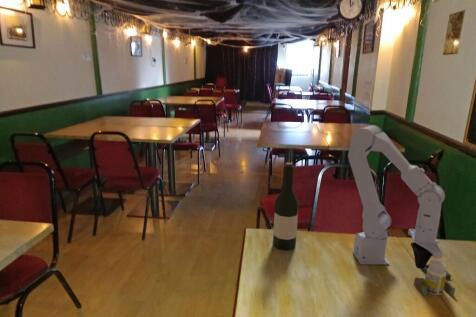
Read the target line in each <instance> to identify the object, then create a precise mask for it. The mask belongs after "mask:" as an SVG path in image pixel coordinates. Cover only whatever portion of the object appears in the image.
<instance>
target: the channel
mask: <svg viewBox="0 0 476 317" xmlns="http://www.w3.org/2000/svg"><path fill="white" fill-rule="evenodd" d="M413 285H414V287H415V288H416V289H417V290H418V291H419V293H420V294H421V295H422V296H424V297H425V296H427V293H428V292H427V289H428V288H427V287H426V286H425V283H424V282H423V281H422V280H421V279H420V278H419V277H414V282H413ZM444 291H446V293H448V294H449V295H450V296H452V297H453V296H455V292H456V287H455V286H454V285H453V284H452V283H450V281H448V279H445V285H444Z"/></svg>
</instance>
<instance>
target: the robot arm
mask: <svg viewBox="0 0 476 317" xmlns="http://www.w3.org/2000/svg"><path fill="white" fill-rule="evenodd" d="M349 139H350V144H349V148H348V153H347V158H348V162H349V164H350V168H351V171H352V174H353V177H354V180H355V181H354V182H355V184H356V186H357V190H358V194H359V197H360V200H361V204H362V206H363V210H362V216H361V218H362V230H363V231H362V232H358V233H356V234H355V236H354V243H353V250H352V253H353V255H354V257H355V258H356V260H357V261H358V263H359V264H360V265H390V262H389V261H388V259H387V258H386V257H385V256H386V250H387V243H388V236H389V233H388V231H387V229H388V228H390V226H391V225H392V218H391V216H390V215H389V214H388V211H386V207H385V206H384V205H383V204H381V203H382V202H380V199H379V195H378V192H377V191H378V190H377V189H376V185H375V182H374V178H373V175H372V171H371V169H370V165H369V162H368V158H367V156H368V155H369V153H370V152H371V151H373V152H378V153H382V154H383V155H384V156H385V157H386V158H387V160H389V161H390V162H391V164H393V165H394V166H395V167H396V168H397V169H398V170H399V171H400V179H401V180H402V181H403V182H404V183H405V184H406V185H407V187H408V188H409V189H410V190H411V191H412V192H413V193H414V195H416V196H417V202H418V204H419V208H418V210H417V216H416V223H415V228H409V229H408V232H407V235H409V236H411V238H412V239H411V240H412V241H413V242H411V243H410V246H411V249H412V252H413V256H414V264H415V265H414V266H415V267H416V269H421V268H425V266H426V264H428V262H429V260H431V258H433V259H442V257H443V251H442V250H441V249H440V247H439V245H438V244H439V243H440V241H439V239H437V236H438V230H439V226H440V221H441V220H440V219H441V215H442V214H441V211H442V203H443V202H444V201H445V198H446V194H445V191H444V189H443V187H442V186H440V185H438V184H437V183H436V182H435V181H432V180H431V179H430V178H429V177H428V176H427V175H426V173H425V172H426V171H425V169H424V168H423V167H421V168H420V167H419V166H418V165H414V164H413V165H412V164H411V163H410V162H409V161H408V160H407V159H406V157H405V156H404V155H403V154H402V152H401V151H400V150H399V149H398V148H397V146H396V145H395V144H394V142H392V140H391V139H390V137H389V136H388V134H387V133H386V132H384V131H383V130H382V129H381V128H380V127H379V126H377V125H374V124H371V125H368V126H365V127H361V128H357V129H356V130H355V131H354V132H353V134H352V135H351V137H350V138H349Z"/></svg>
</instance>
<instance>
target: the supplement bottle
mask: <svg viewBox="0 0 476 317" xmlns="http://www.w3.org/2000/svg"><path fill="white" fill-rule="evenodd" d="M446 268H447V265H446V264H445V263H444V262H442V261H439V260H435V259H434V260H431V261H430V262H429V267H428V268H427V273H425V279H424V285H425V286H426V287H427V288H428V289H427V293H429V294H431V295H435V296H441V295H443V293H444V291H445V289H444V285H445V279H446V272H445V270H446ZM446 271H447V270H446ZM446 280H447V279H446Z"/></svg>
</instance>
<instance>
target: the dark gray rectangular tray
mask: <svg viewBox="0 0 476 317" xmlns="http://www.w3.org/2000/svg"><path fill="white" fill-rule="evenodd" d="M429 264H430V263H429ZM429 264H428V263H427V264H426V266H425V268H420V270H421V271H423V273H424V274H426V273H427V268H428V267H429ZM445 272H446V280H448V279H449V280H451V277H452V275H451V274H450V273H449V272H448V271H447V270H445Z"/></svg>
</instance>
